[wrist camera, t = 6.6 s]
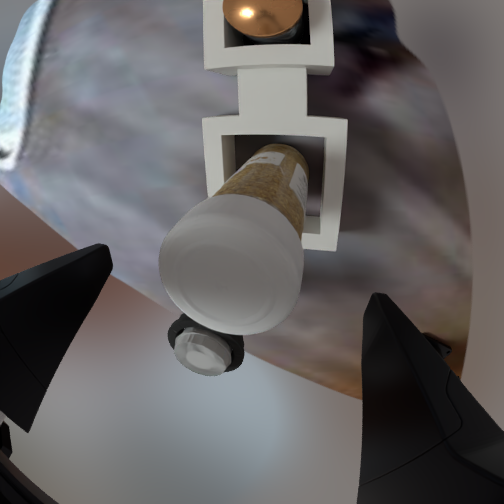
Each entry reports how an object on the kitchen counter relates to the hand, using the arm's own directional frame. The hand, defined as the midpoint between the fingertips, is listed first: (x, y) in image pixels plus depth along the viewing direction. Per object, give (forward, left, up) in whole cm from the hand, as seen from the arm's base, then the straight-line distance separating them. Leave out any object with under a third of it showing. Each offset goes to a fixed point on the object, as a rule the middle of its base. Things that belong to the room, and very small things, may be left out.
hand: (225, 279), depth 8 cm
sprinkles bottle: (0, 0, -13) cm, 13 cm away
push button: (-1, +10, -13) cm, 17 cm away
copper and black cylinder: (+5, -10, -13) cm, 17 cm away
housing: (+2, -5, -13) cm, 14 cm away
